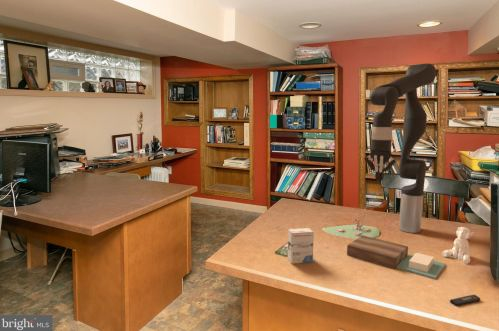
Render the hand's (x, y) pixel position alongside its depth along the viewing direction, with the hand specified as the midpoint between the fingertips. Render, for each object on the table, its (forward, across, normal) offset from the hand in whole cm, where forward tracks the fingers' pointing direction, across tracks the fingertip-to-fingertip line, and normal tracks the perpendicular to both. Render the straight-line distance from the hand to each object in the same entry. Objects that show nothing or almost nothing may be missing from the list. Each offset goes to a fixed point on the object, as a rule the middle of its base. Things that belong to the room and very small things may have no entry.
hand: (379, 180), depth 139 cm
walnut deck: (+27, -5, +11) cm, 30 cm away
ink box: (+27, +15, +34) cm, 46 cm away
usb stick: (+28, -37, +26) cm, 53 cm away
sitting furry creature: (+27, -29, -8) cm, 41 cm away
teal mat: (+27, -20, +10) cm, 35 cm away
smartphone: (+28, +24, +28) cm, 46 cm away
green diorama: (+28, +15, -8) cm, 32 cm away
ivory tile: (+24, -21, +10) cm, 33 cm away
